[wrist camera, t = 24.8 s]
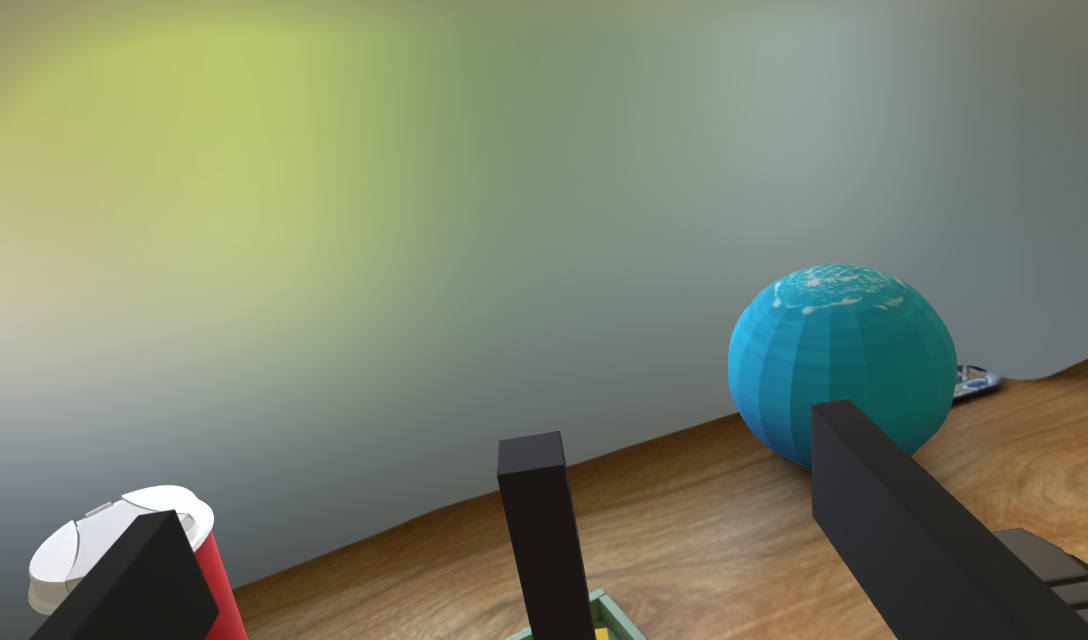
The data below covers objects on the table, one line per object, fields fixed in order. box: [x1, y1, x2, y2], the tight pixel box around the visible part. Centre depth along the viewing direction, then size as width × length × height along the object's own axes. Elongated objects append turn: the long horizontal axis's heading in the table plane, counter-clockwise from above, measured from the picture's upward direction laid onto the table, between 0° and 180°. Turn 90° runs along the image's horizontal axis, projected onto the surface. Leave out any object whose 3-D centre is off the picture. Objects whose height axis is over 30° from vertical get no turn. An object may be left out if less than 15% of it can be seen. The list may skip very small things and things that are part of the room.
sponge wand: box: [497, 431, 609, 640], centre depth 26 cm, size 4×6×17 cm, turn 2°
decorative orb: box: [728, 264, 957, 470], centre depth 46 cm, size 15×15×15 cm
